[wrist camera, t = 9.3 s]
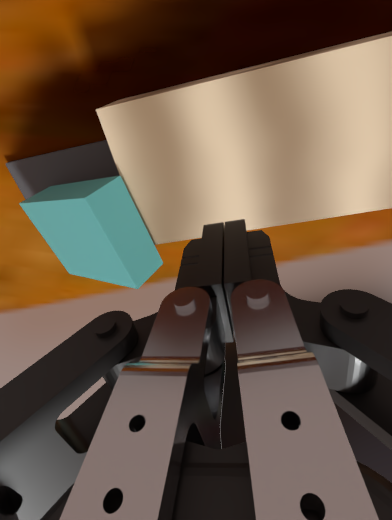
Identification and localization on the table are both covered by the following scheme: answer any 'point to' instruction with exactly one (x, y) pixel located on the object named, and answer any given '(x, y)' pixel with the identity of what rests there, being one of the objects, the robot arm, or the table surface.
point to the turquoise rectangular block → (95, 230)
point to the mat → (63, 167)
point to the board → (260, 142)
